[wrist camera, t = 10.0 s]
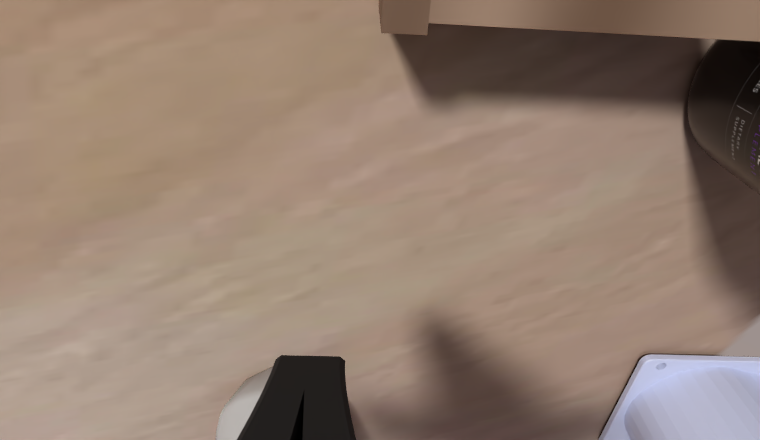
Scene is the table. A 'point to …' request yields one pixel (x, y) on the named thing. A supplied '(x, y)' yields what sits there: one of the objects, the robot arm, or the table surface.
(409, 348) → the table surface
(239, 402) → the salt shaker
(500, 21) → the cradle
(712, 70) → the supplement bottle
